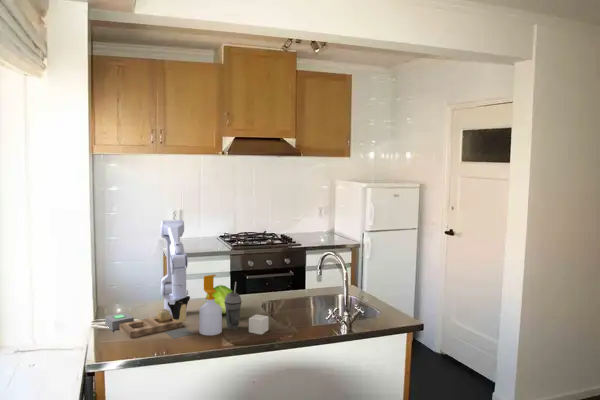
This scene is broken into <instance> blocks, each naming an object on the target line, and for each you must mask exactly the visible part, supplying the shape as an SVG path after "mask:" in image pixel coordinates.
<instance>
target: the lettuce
mask: <svg viewBox="0 0 600 400" xmlns="http://www.w3.org/2000/svg"><path fill="white" fill-rule="evenodd" d="M214 289H215V290H216V291H217V292H215V293H214V294H213V297H215V303H216V304H218V305H219V306H221V308H222V315H223V314H225V315H226V307H225V303H224V301H225V297H226V296H227V294H229V293H231V292H234V290H232V289H231V288H229V287H227V286H226V285H222V284H220V285H216V286H214ZM207 297H209V294H207V293H206V297H205V303H206V302H207Z"/></svg>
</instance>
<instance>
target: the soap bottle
mask: <svg viewBox="0 0 600 400" xmlns="http://www.w3.org/2000/svg"><path fill="white" fill-rule="evenodd" d="M216 276H217V274H210V275H209V274H208V275H204V276H203V290H204V292H205V293H206V295H207V294H209V297H207V302H206V301H205V303H204V304H203V305H201V306H200V307H199V310H198V311H199V312H198V313H199V317H198V318H199V320H198V321H199V325H198V326H199V327H198V328H199V334H200V335H203V336H216V335H219V334H221V333H222V332H223V330H222V329H223V322H222V320H223V318H222V317H223V316H222V315H223V314H222V308H221V306H219V305H218V304H216V303H215V297H213V294H214V293H215V292H217V291H216V290H215V289H214V287H215V285H214V277H216Z"/></svg>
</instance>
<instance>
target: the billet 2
mask: <svg viewBox="0 0 600 400" xmlns="http://www.w3.org/2000/svg"><path fill="white" fill-rule="evenodd" d="M179 303H183V302H179ZM173 321H175V322H176V323H179V322H182V323H183V322H187V308H186V304H185V303H183V304H182V306H181V309H180V317H179V319H178V320H176V319H173Z"/></svg>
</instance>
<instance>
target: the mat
mask: <svg viewBox="0 0 600 400" xmlns="http://www.w3.org/2000/svg"><path fill="white" fill-rule="evenodd" d="M164 333H165V334H166V335H168V336H169V337H171V338H172V339H177V338H183V337H187V336H191V335H195V332H192V331H191V330H190V329H187V328H186V327H179V328H175V329H170V330H166V331H164Z"/></svg>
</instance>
